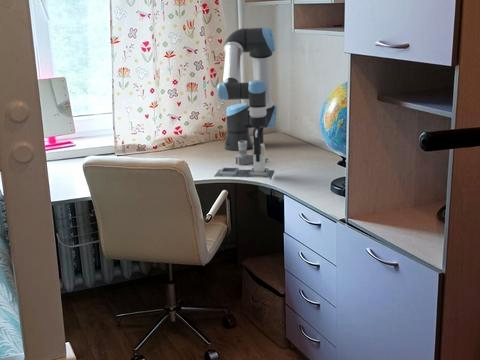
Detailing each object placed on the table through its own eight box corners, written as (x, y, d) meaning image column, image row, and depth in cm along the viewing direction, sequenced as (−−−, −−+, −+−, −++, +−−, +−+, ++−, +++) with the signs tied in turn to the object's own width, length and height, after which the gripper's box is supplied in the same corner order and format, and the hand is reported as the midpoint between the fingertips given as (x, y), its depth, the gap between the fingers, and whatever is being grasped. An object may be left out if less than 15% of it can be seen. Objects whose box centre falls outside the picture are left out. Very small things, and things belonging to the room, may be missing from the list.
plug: (255, 170, 293) (254, 143, 289) (265, 171, 292) (265, 143, 288) (253, 173, 289) (252, 145, 285) (264, 173, 288) (263, 145, 284)
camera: (232, 140, 308) (258, 136, 315) (232, 164, 312) (259, 160, 319) (241, 144, 301) (268, 140, 308) (241, 168, 304) (268, 163, 311)
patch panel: (219, 171, 300) (219, 166, 299) (274, 172, 295) (274, 167, 294) (213, 178, 289) (213, 173, 288) (270, 179, 284) (270, 174, 283)
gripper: (252, 112, 292) (254, 161, 298) (246, 119, 275) (247, 171, 282) (269, 112, 290) (270, 161, 297) (263, 119, 274) (264, 172, 281)
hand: (259, 166), depth 289 cm, fingers closed on plug, 4 cm apart
